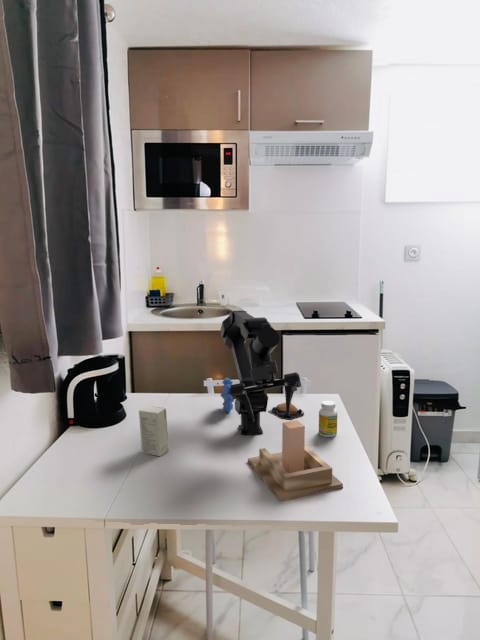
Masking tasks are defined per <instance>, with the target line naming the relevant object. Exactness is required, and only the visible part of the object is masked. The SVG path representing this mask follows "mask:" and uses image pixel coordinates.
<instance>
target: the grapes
mask: <svg viewBox="0 0 480 640" xmlns="http://www.w3.org/2000/svg"><path fill="white" fill-rule="evenodd" d="M233 383H234V382H233V381H232V380H231V378H229V377H225V378H224V379H223V381H222V384H223V385H222V388H221V389H222V390H223V391H222V392H221V393H220V397H221V398H222V399H223V403H222V405H223V407H222V409H223V410H224V411H225V413H230V412H231V411H232V410H233V409H234V407H235V404H233V402H235V399H233V398H232V397H231V396H230V393H229V387H230V385H233Z"/></svg>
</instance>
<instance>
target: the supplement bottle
mask: <svg viewBox="0 0 480 640" xmlns="http://www.w3.org/2000/svg"><path fill="white" fill-rule="evenodd" d="M320 405H321V408H320V409H319V411H318V434H319V435H320V436H322V437H324V438H332V437H336V436H337V434H338V410H337V409H336V402H335V401H332V400H323V401H321V403H320Z"/></svg>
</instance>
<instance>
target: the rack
mask: <svg viewBox="0 0 480 640" xmlns="http://www.w3.org/2000/svg"><path fill="white" fill-rule="evenodd" d="M258 451H259V455H258V456H253V457H248V458H247V462H248V465H250V466H251V467H252V469H253V470H254V471H255V472H256V474H258V476H259V477H260V478H261V480H262V481H263V482H264V483H265V485H267V487H268V488H269V489H270V490H271V492H272V493H273V494H274V495H275V497H276V498H277V499H278V500H279V501H280V502H281V501H286V500H291V499H295V498H300V497H305V496H309V495H315V494H320V493H324V492H328V491H333V490H338V489H343V487H344V483H343V482H342V481H340V480H339V479H338V478H337V477H336V476H335V475H334V474H333V467H332V466H330V464H328V463H327V462H326V461H324V459H322V458H321V457H320V456H319V455H318V454H317V453H315V451H313V450H312V449H311V448H310V447H309V446H307V444H305V445H304V470H303V471H298V472H293V473H288V472H287V471H286V470H285V469H284V468H283V467H282V452H281V451H280V452H276V453H270V452H269V451H268V450H267V449H266V448H259V449H258Z"/></svg>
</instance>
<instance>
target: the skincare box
mask: <svg viewBox="0 0 480 640" xmlns="http://www.w3.org/2000/svg"><path fill="white" fill-rule="evenodd" d="M138 416H139V429H140V442H141V453H142V454H146V455H151V456H152V455H153V456H157V457H158V456H159V457H161V456H163V455H164V454H166V453H167V452H168V451H169V450H170V449H169V434H168V419H167V418H168V417H167V408H165V407H161V406H153V405H146V406H144V407H142V408H141V409H139V410H138Z"/></svg>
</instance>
